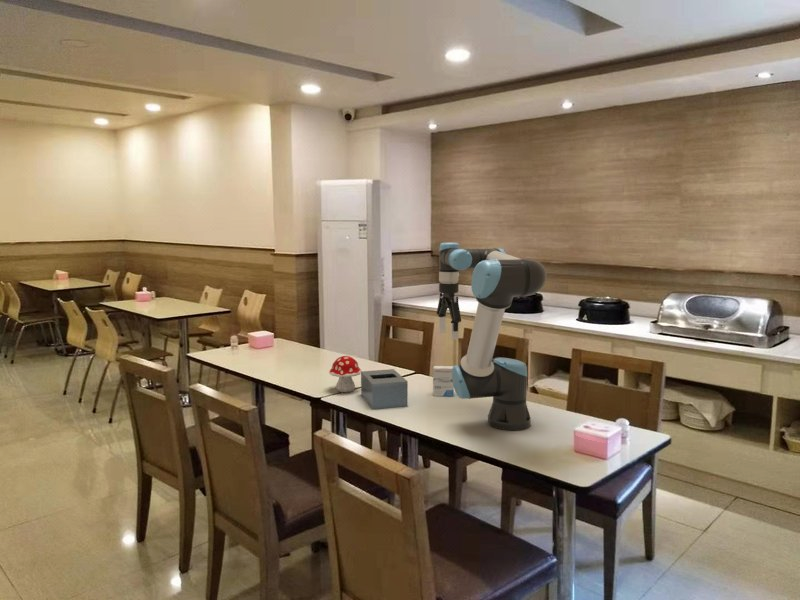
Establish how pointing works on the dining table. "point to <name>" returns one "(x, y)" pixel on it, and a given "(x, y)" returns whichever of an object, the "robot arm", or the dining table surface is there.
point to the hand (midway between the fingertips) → (448, 336)
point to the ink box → (442, 381)
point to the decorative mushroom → (345, 373)
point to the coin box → (384, 389)
